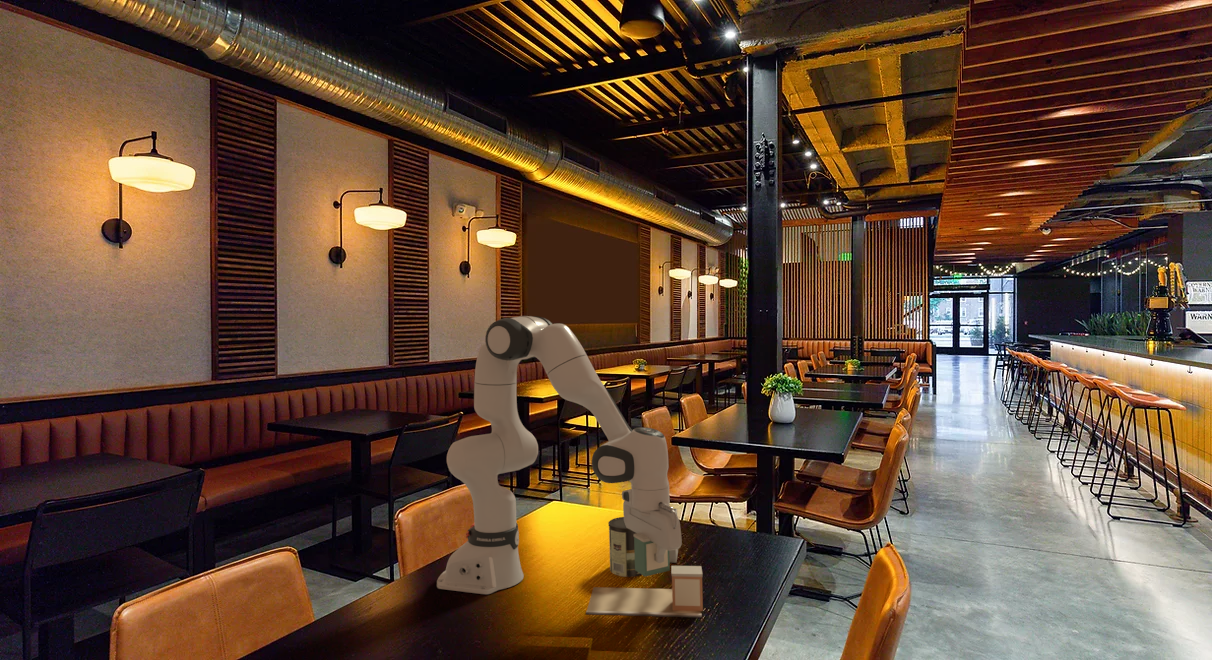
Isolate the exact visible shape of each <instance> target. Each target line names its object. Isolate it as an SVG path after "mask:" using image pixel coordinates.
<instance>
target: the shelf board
mask: <svg viewBox="0 0 1212 660" xmlns="http://www.w3.org/2000/svg"><path fill="white" fill-rule="evenodd" d="M585 615H599V616H604V615H605V616H631V617H632V616H634V617H636V616H637V617H638V616H639V617H666V618H667V617H668V618H669V617H670V618H671V617H672V618H673V617H675V618H678V617H679V618H703V615H702V611H679V610H673V599H672V588H643V587H642V588H641V587H639V588H638V587H636V588H635V587H602V586H601V587H598V586H597V587H593V588H592V593H591V596H590V599H589V603H588V605H587V610H586V611H585Z"/></svg>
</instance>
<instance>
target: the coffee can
mask: <svg viewBox="0 0 1212 660" xmlns="http://www.w3.org/2000/svg"><path fill="white" fill-rule="evenodd" d="M608 530H609V531H608V532H609V533H608V536H609V537H608V539H609V570H610V572H611V573H612V574H613V575H615V576H618V577H625V578H628V577H629V578H630V577H638V576H643V575H642V574H640V573H639V572H637V571H636V570H635V551H634V534H636V533H635V532H634V531H632V530H630V529H628V528H627V527H626V525H625V522H624V516H620V517H615V518H612V519H610V520H609V521H608Z"/></svg>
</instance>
